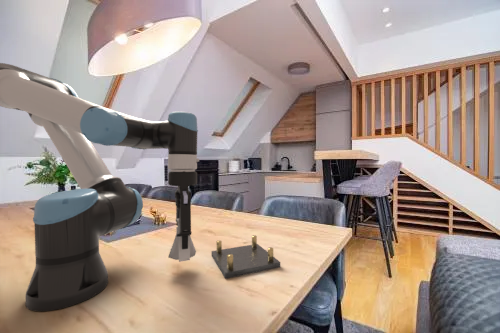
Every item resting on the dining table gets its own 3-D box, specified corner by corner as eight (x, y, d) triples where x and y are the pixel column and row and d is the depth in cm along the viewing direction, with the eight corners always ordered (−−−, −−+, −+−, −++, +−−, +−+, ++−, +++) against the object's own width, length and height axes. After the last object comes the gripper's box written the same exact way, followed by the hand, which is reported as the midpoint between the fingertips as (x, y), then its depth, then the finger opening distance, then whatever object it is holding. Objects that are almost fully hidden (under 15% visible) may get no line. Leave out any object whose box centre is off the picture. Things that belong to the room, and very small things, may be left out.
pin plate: (225, 278, 59) (224, 259, 59) (211, 255, 74) (211, 240, 73) (280, 267, 65) (280, 249, 65) (257, 248, 79) (257, 233, 79)
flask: (188, 262, 59) (189, 223, 58) (163, 259, 60) (163, 221, 60) (200, 251, 66) (200, 216, 65) (177, 249, 67) (177, 215, 67)
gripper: (203, 172, 54) (203, 268, 55) (191, 169, 73) (191, 240, 74) (170, 172, 52) (170, 273, 52) (166, 169, 70) (166, 243, 71)
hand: (182, 254), depth 63 cm, fingers closed on flask, 7 cm apart
